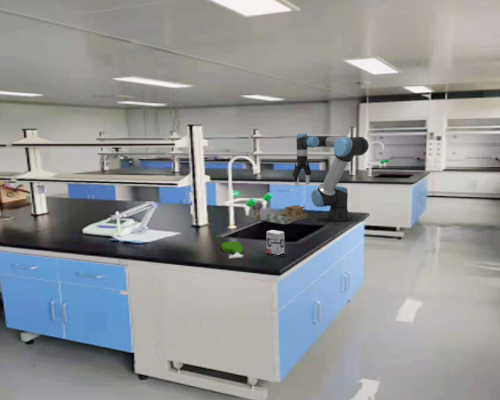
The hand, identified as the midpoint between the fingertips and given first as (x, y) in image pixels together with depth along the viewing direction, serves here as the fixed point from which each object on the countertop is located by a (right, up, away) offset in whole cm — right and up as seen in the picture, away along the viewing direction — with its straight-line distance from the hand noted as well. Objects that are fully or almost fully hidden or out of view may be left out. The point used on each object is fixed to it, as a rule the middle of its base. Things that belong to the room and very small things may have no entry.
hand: (302, 185), depth 326 cm
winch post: (-33, -25, -10) cm, 42 cm away
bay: (-11, -24, -9) cm, 28 cm away
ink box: (-25, -39, -94) cm, 105 cm away
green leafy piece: (-46, -39, -90) cm, 108 cm away
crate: (-6, -24, -4) cm, 25 cm away
